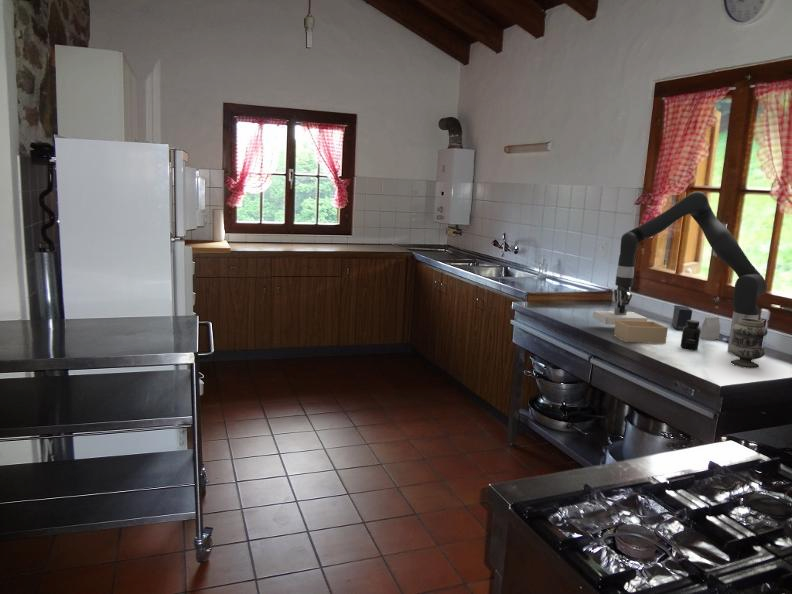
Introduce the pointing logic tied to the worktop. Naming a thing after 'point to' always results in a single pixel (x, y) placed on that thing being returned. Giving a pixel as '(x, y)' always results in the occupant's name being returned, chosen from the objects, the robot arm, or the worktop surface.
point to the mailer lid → (617, 316)
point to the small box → (681, 317)
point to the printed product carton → (710, 328)
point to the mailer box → (641, 331)
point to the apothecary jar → (748, 342)
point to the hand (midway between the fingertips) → (620, 312)
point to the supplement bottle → (690, 335)
